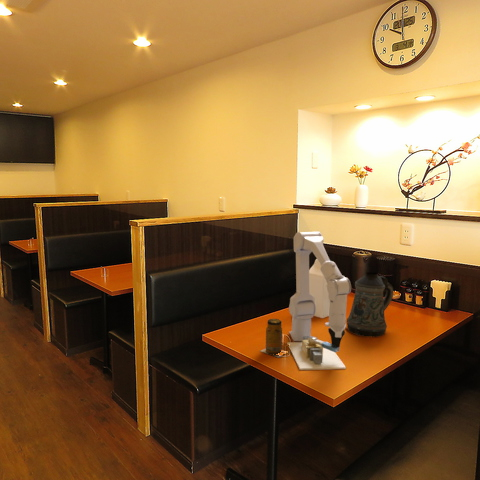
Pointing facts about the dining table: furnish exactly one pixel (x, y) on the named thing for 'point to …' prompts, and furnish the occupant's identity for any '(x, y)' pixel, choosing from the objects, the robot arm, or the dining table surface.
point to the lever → (323, 344)
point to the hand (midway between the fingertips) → (335, 349)
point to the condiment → (273, 337)
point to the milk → (319, 290)
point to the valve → (312, 351)
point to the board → (328, 361)
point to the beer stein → (370, 306)
